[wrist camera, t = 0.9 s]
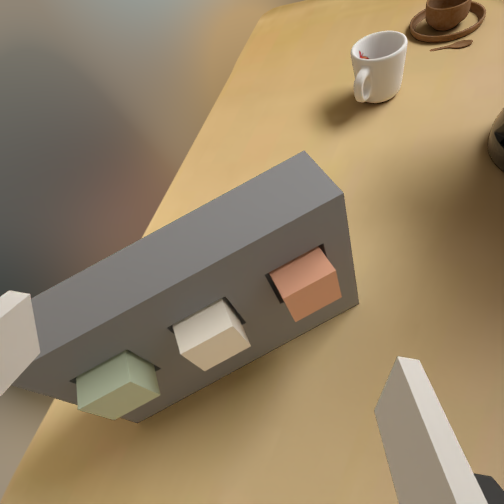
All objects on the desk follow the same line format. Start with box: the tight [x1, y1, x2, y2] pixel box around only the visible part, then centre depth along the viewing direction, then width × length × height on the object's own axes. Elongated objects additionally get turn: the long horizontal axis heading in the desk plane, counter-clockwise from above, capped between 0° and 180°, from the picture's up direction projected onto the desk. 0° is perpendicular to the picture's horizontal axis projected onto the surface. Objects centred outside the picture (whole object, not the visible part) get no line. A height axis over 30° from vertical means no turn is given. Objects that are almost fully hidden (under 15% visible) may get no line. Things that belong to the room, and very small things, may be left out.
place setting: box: [410, 0, 486, 51], centre depth 60 cm, size 18×20×6 cm
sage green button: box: [76, 350, 160, 420], centre depth 30 cm, size 5×6×5 cm
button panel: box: [11, 151, 359, 423], centre depth 34 cm, size 28×6×18 cm, turn 112°
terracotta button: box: [269, 246, 342, 322], centre depth 30 cm, size 5×6×5 cm
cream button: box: [172, 297, 251, 371], centre depth 30 cm, size 5×6×5 cm
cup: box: [351, 31, 408, 103], centre depth 54 cm, size 11×8×8 cm
